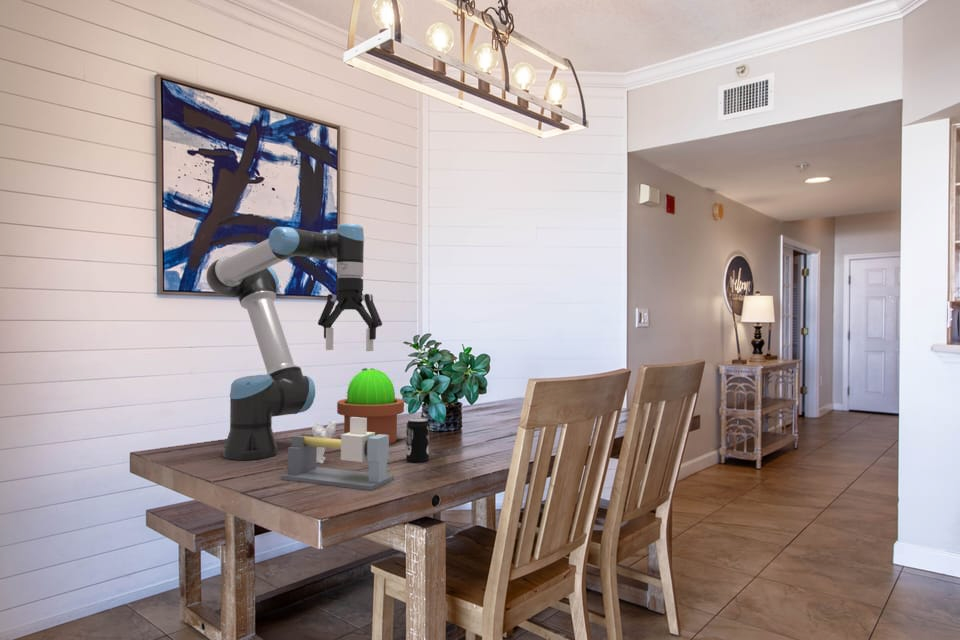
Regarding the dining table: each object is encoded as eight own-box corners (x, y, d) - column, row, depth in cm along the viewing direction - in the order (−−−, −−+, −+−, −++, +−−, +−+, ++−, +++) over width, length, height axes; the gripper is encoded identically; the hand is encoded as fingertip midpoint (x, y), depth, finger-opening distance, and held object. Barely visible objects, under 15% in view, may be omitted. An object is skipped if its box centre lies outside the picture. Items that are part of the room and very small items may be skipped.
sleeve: (340, 459, 151) (341, 418, 151) (354, 454, 157) (354, 415, 157) (361, 462, 149) (362, 420, 149) (374, 456, 155) (375, 416, 155)
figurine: (339, 462, 173) (339, 420, 174) (324, 465, 169) (324, 422, 170) (316, 457, 180) (317, 416, 180) (302, 460, 176) (302, 418, 176)
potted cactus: (399, 448, 193) (400, 369, 193) (330, 448, 193) (331, 369, 193) (406, 435, 215) (407, 365, 215) (344, 435, 215) (345, 364, 215)
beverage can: (425, 463, 173) (425, 421, 173) (403, 462, 174) (403, 420, 174) (431, 458, 179) (432, 418, 179) (410, 457, 181) (410, 417, 181)
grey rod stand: (282, 479, 154) (282, 432, 154) (308, 469, 164) (309, 426, 165) (371, 490, 145) (372, 441, 145) (393, 479, 155) (394, 433, 155)
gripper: (306, 277, 178) (305, 349, 178) (381, 275, 169) (380, 352, 169) (321, 279, 185) (320, 348, 185) (394, 277, 176) (393, 351, 176)
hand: (349, 350), depth 177 cm, fingers open, 13 cm apart
